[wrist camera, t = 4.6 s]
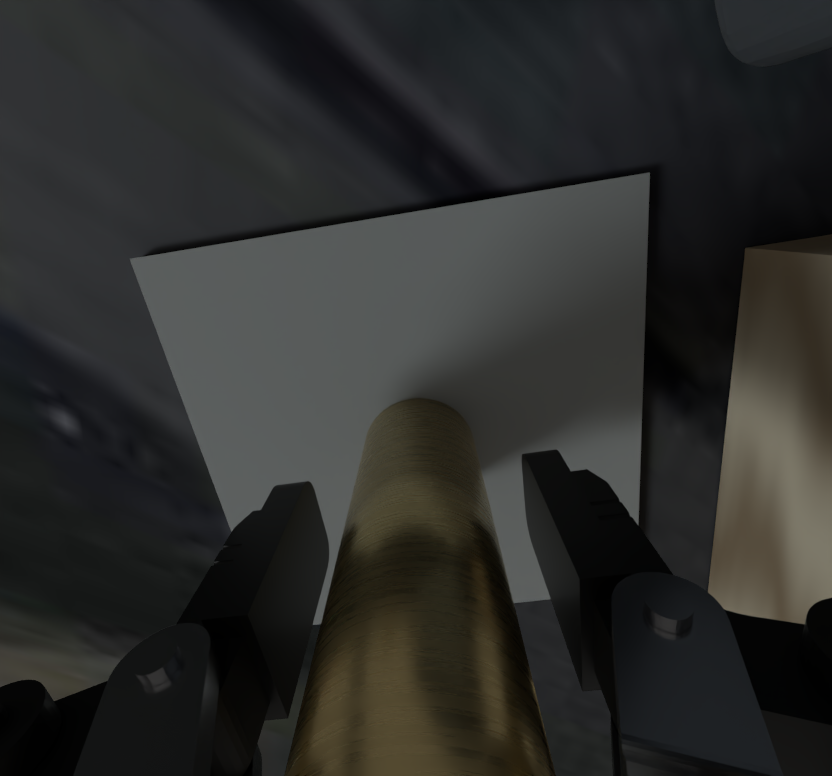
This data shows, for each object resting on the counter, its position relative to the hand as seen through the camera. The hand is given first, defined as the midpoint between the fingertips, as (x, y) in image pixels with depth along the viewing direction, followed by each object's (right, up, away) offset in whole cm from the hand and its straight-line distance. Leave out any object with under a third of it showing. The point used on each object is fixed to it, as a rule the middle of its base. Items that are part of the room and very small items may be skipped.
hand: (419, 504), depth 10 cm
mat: (0, +1, +3) cm, 3 cm away
